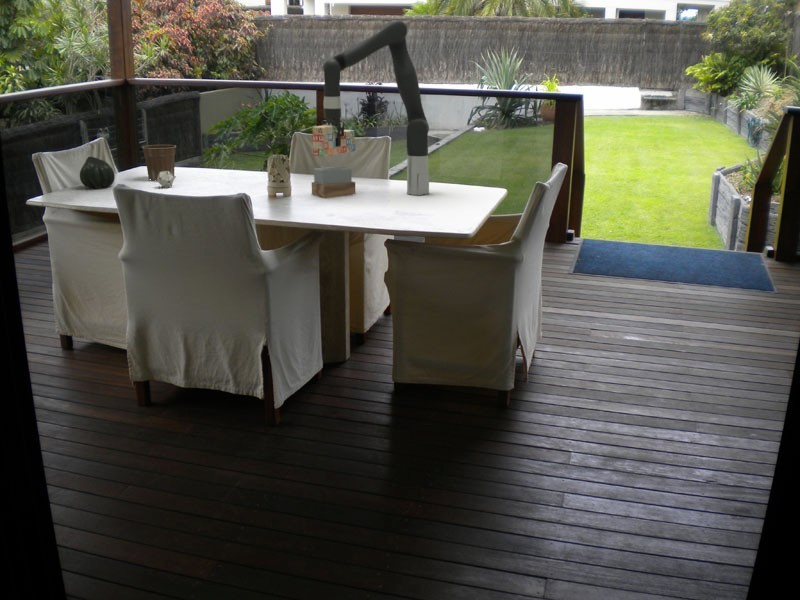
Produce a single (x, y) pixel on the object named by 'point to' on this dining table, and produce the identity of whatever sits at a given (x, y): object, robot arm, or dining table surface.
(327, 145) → the stack of blocks
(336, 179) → the tower top block
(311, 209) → the dining table surface
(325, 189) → the tower base block
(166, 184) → the game die
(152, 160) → the plant pot
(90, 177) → the squash
